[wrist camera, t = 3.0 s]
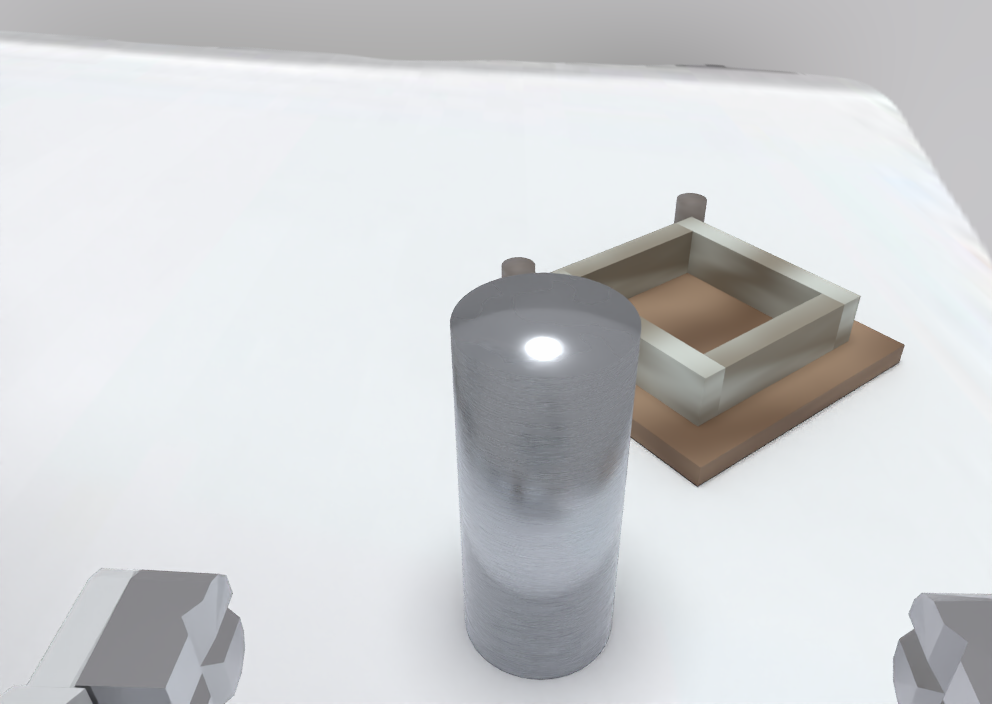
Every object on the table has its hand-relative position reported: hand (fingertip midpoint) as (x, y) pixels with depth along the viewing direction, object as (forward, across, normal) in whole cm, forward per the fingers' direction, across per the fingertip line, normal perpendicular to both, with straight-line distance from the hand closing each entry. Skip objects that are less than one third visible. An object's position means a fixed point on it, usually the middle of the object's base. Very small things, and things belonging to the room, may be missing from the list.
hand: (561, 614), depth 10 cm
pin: (+12, 0, +16) cm, 20 cm away
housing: (+29, -7, +16) cm, 33 cm away
